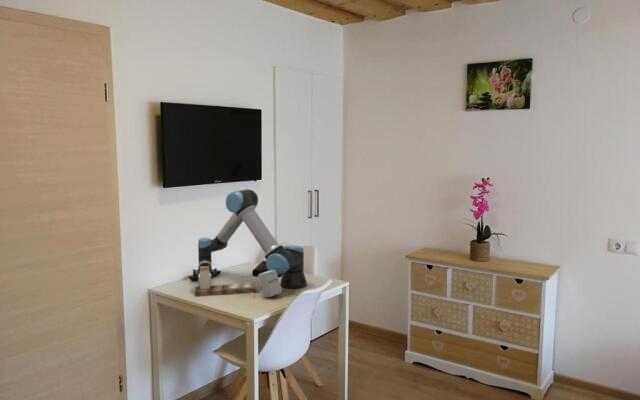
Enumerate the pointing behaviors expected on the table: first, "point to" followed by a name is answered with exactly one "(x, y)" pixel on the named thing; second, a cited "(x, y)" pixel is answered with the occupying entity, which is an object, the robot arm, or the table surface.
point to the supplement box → (270, 283)
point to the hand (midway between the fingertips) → (204, 278)
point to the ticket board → (227, 289)
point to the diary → (262, 269)
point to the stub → (204, 277)
